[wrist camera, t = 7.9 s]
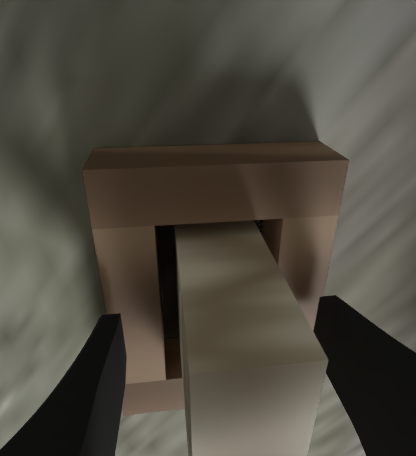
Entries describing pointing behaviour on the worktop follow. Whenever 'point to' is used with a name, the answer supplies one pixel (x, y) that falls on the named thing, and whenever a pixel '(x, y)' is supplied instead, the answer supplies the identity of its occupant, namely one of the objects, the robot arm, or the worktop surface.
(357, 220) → the worktop surface
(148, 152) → the holder
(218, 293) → the peg
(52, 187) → the worktop surface
